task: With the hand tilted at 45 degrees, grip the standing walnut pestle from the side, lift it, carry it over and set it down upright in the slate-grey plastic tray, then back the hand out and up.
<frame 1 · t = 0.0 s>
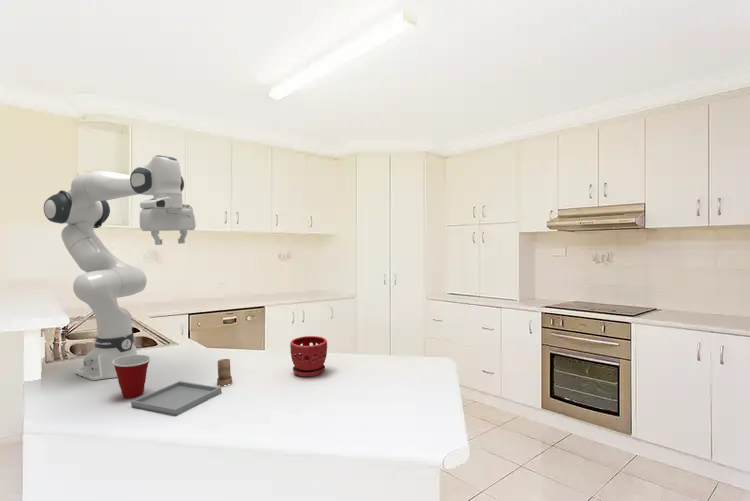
hand: (170, 244, 148), 48 cm above the counter, tool pointing down, fingers open, 8 cm apart
grey tray: (178, 399, 134), on the counter
walnut pestle: (224, 383, 147), on the counter
plant pot: (309, 373, 156), on the counter
plastic cup: (134, 395, 139), on the counter
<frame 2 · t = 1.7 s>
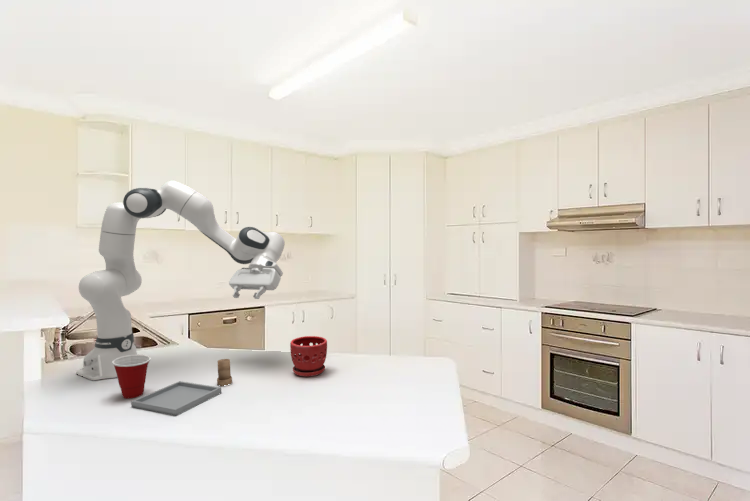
hand: (245, 297, 157), 28 cm above the counter, tool tilted 45°, fingers open, 8 cm apart
nothing on the counter moved.
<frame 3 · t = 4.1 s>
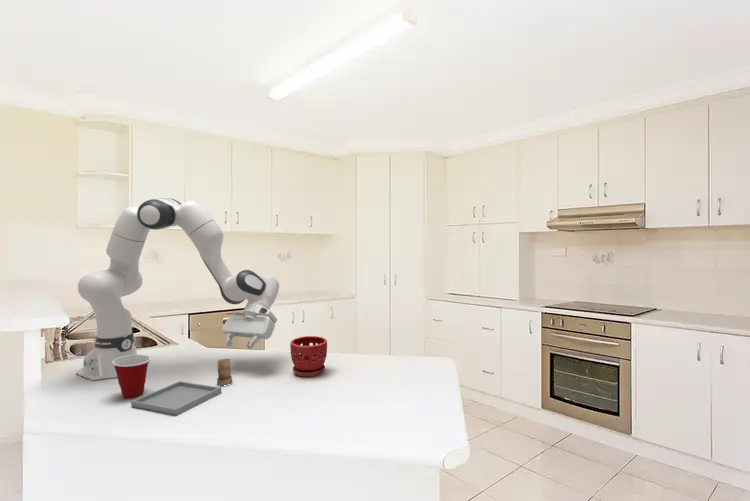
hand: (238, 346, 154), 11 cm above the counter, tool tilted 45°, fingers open, 8 cm apart
nothing on the counter moved.
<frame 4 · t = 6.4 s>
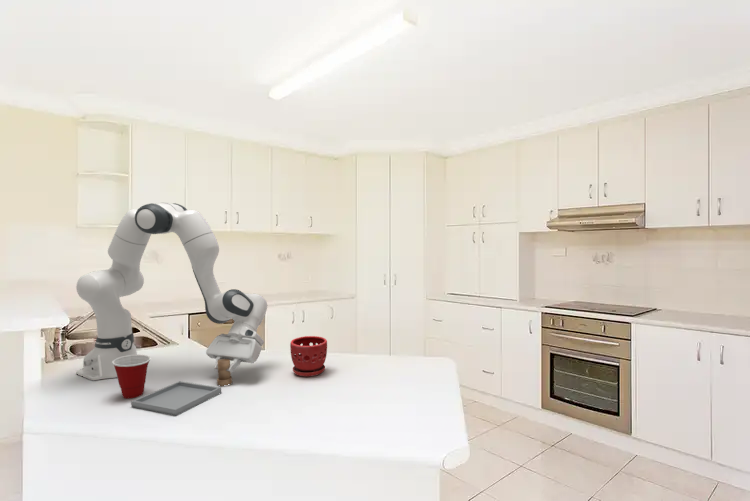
hand: (222, 371, 146), 5 cm above the counter, tool tilted 45°, fingers closed on walnut pestle, 4 cm apart
walnut pestle: (224, 383, 147), on the counter, touching gripper
everything else where it was.
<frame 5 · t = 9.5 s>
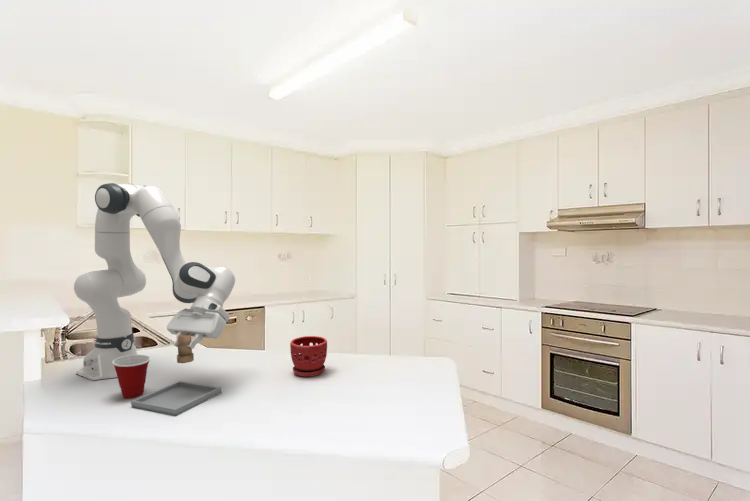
hand: (183, 346, 135), 16 cm above the counter, tool tilted 45°, fingers closed on walnut pestle, 4 cm apart
walnut pestle: (185, 360, 136), point 11 cm above the counter, touching gripper
everything else where it was.
when the fingers open (6 cm above the counter, at t = 12.5 s): walnut pestle drops 1 cm, resting on grey tray.
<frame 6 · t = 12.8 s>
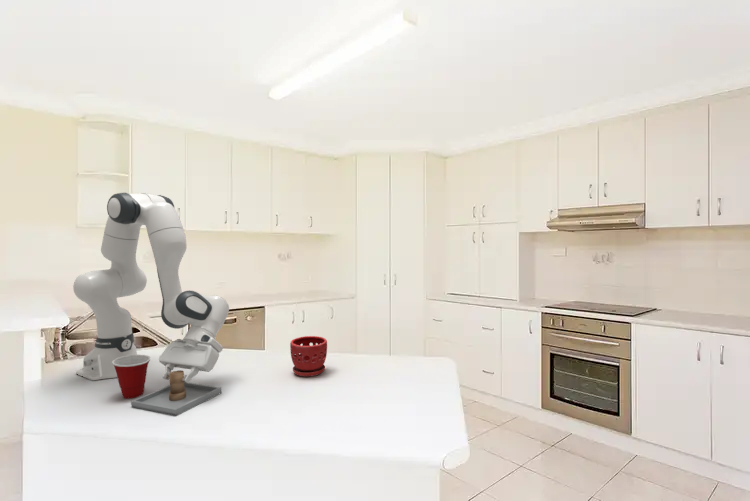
hand: (175, 380, 133), 6 cm above the counter, tool tilted 45°, fingers open, 7 cm apart
walnut pestle: (177, 397, 134), point 1 cm above the counter, touching grey tray
everything else where it was.
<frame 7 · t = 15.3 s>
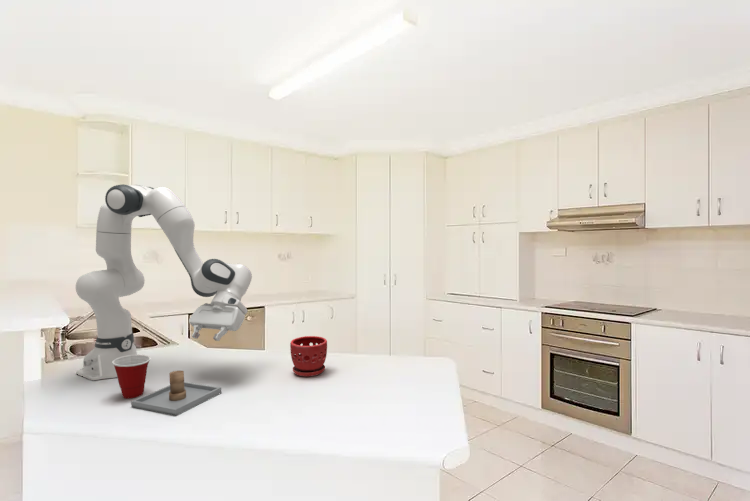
hand: (204, 338, 144), 16 cm above the counter, tool tilted 45°, fingers open, 8 cm apart
nothing on the counter moved.
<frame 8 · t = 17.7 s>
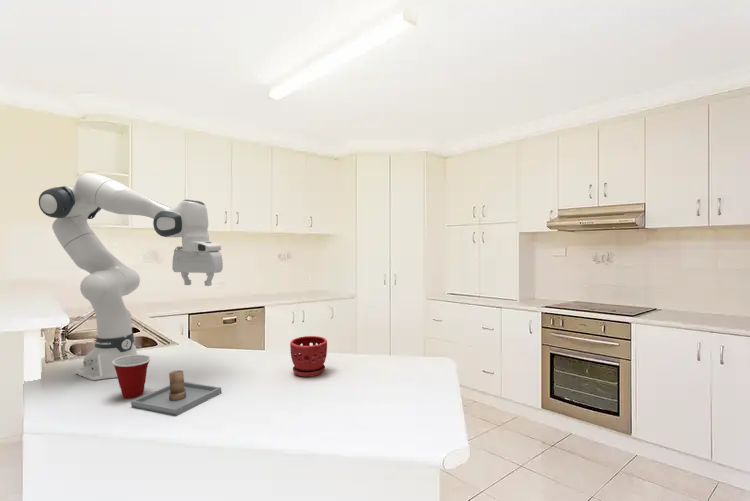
hand: (197, 285, 152), 33 cm above the counter, tool pointing down, fingers open, 8 cm apart
nothing on the counter moved.
at the end: walnut pestle inside the target area on the grey tray (0.0 cm from its centre), point 0.6 cm above the grey tray's base; walnut pestle tilted 1°; the gripper is holding nothing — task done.
